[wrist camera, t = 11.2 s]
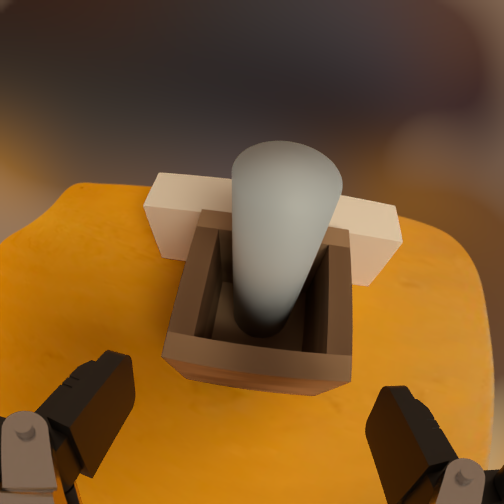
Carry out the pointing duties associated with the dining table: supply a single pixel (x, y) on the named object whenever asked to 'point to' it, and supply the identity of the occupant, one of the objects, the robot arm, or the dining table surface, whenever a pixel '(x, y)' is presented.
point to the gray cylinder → (277, 229)
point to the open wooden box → (261, 349)
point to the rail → (220, 199)
